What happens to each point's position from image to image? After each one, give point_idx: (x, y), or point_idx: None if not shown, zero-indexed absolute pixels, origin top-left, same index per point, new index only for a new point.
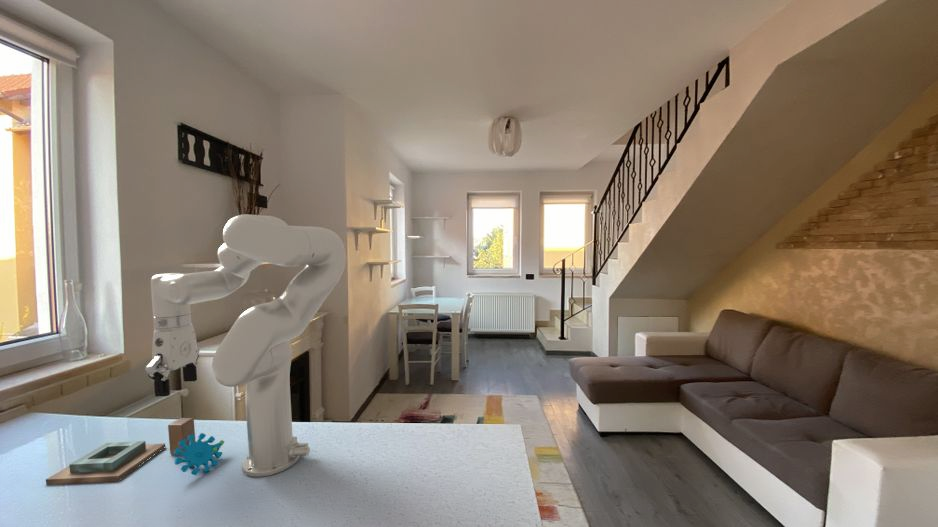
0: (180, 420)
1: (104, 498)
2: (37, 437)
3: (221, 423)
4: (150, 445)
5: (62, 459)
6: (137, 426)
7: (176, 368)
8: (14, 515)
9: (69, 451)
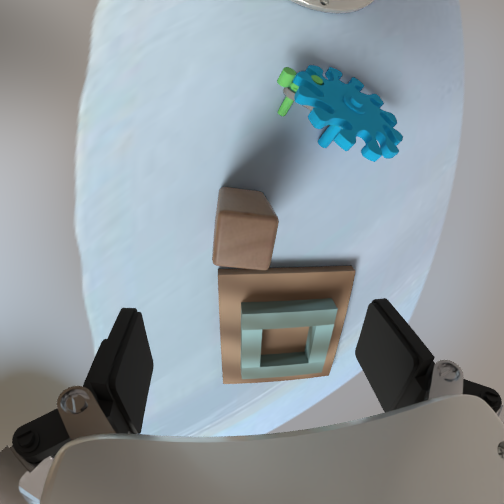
0: (240, 248)
1: (399, 246)
2: None
3: (86, 208)
4: (226, 302)
5: (248, 405)
6: None
7: (450, 396)
8: None
9: (222, 413)
